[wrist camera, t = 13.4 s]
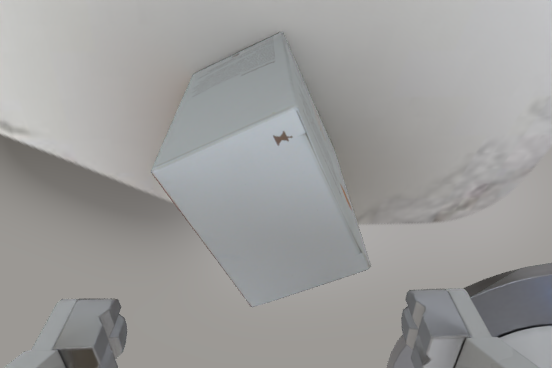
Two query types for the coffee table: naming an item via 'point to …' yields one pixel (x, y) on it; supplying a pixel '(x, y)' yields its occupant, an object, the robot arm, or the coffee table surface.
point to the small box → (261, 176)
